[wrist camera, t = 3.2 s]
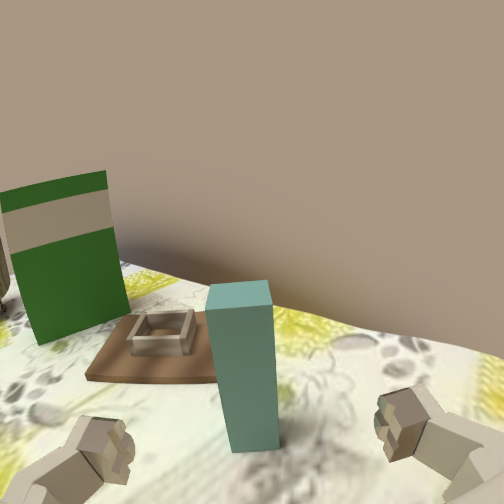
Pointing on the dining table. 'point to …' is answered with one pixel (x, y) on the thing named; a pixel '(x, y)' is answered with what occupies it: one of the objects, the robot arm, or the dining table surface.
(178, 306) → the dining table surface
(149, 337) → the socket board
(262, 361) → the teal post
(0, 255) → the tabletop clock
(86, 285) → the hardback book
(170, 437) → the dining table surface
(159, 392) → the dining table surface
